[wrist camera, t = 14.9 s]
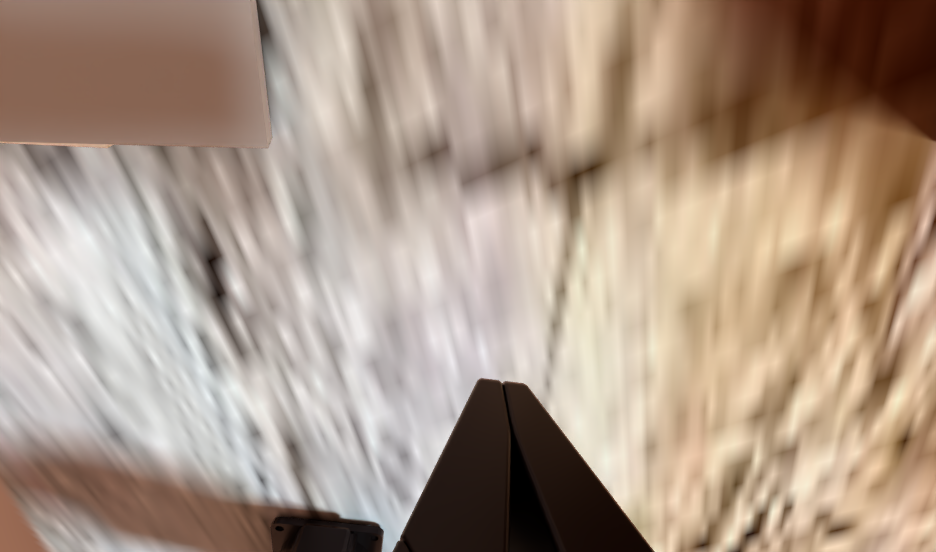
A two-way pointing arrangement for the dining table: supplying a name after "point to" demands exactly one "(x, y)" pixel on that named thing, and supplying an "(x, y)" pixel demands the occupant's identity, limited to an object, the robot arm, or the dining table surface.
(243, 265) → the dining table surface
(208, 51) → the domino
